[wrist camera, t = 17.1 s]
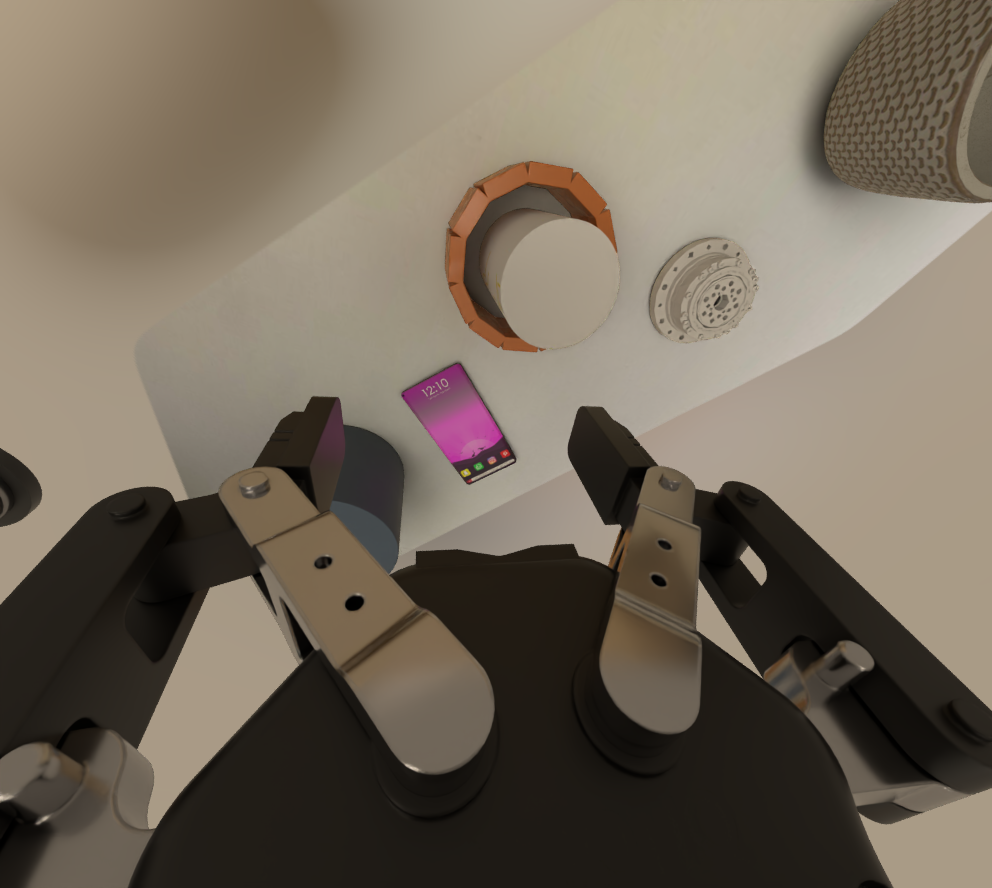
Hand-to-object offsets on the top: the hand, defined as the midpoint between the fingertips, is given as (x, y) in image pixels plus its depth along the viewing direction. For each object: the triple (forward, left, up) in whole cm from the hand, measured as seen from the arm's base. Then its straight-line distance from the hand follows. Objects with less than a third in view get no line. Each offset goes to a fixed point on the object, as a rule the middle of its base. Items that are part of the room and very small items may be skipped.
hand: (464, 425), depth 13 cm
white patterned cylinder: (+8, 0, -26) cm, 28 cm away
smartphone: (0, -17, -26) cm, 31 cm away
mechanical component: (+26, -5, -26) cm, 37 cm away
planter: (+38, +9, -26) cm, 47 cm away
